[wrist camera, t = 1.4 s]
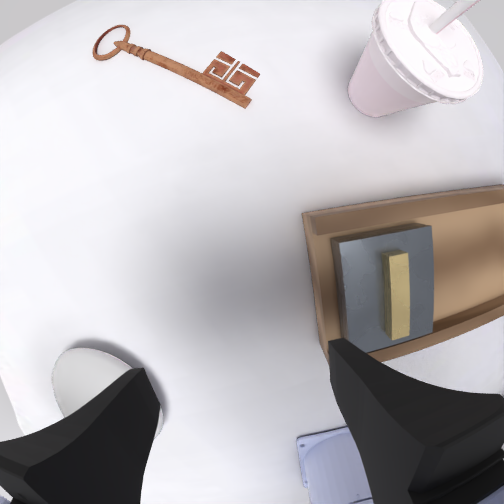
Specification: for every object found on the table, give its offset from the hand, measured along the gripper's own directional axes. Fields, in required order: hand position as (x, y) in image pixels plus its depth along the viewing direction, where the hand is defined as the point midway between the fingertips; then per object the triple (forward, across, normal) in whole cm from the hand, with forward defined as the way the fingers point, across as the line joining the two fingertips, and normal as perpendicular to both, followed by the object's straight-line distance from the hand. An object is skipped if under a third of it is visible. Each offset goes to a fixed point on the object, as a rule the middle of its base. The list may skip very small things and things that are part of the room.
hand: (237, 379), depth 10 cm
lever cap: (+8, -9, +1) cm, 12 cm away
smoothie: (+12, -12, -12) cm, 21 cm away
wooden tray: (+10, -15, +1) cm, 18 cm away
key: (+13, +2, -18) cm, 22 cm away
